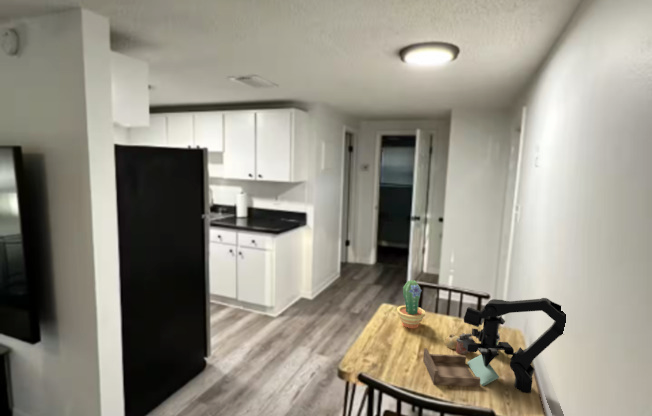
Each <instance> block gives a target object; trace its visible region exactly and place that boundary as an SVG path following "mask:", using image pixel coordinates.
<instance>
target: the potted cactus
mask: <svg viewBox="0 0 652 416" xmlns="http://www.w3.org/2000/svg"><path fill="white" fill-rule="evenodd" d="M421 293H422V289H421V287H420V285H419V284H418V282H417V281H416V280H415V279H413V280H412V279H410V280H408V281H407V282H406V283H405V284H404V285H403V287H402V295H403V298H404V302H405V305H400V306H398V307H397V308H396V310H397V314H398V316H399V317H398V318H399V319H400V321H401V325H402V326H403V327H404V326H405V328H407V327H408V328H407V329H418V328H419V324H421V322H422V321H423V319H424V318H425V316H426V311H425V309H423V308H421V307H419V301H420V298H421Z"/></svg>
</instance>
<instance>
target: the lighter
mask: <svg viewBox="0 0 652 416" xmlns="http://www.w3.org/2000/svg"><path fill="white" fill-rule="evenodd" d="M458 337H459V338H457V347H456V350H455V352H456V354H457V355H465V354H470V353H471V352H469V351H467V350H466V348H465V347H464V345H463V341H464V340H465V339H472V340H474V339H473V336H472V332H471V333H470V332H469V333H466V332H463V333H462V334H459V336H458Z"/></svg>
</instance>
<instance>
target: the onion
mask: <svg viewBox="0 0 652 416" xmlns="http://www.w3.org/2000/svg"><path fill="white" fill-rule="evenodd" d="M457 338H460V337H459V336H458V335H456V334H454V333H450V334H449V335H448V336H447V337H446V338H445V341H444V343H445V346H446V347H447V348H449V349H451V350H455V351H456V347H457Z"/></svg>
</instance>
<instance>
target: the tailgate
mask: <svg viewBox="0 0 652 416" xmlns="http://www.w3.org/2000/svg"><path fill="white" fill-rule="evenodd" d="M466 364H467V365H468V367H469V368H470V370H471V371H472V372H473V373H472V374H474V377H480V386H482V387H484V386H486V385H488V384H490V383H492V382H493V381H495V380H498V379H499V378H500V376H499V375H498V373H497V371H496V370H495V368H493V367H492V365H491V363H489V364H488V366H487V367H485V366H484V362H483V358H482V354H481V353H480V354H479V355H478V356H476V357H474V358H472V359H470V360H468V361H467V362H466Z"/></svg>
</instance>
